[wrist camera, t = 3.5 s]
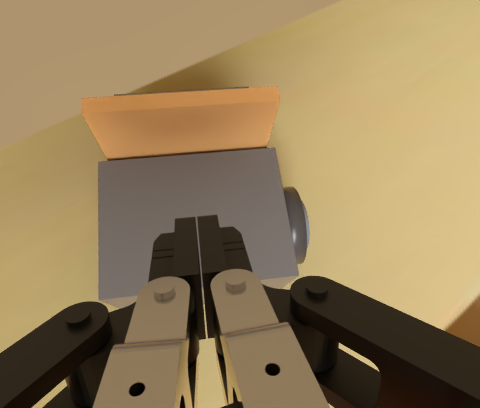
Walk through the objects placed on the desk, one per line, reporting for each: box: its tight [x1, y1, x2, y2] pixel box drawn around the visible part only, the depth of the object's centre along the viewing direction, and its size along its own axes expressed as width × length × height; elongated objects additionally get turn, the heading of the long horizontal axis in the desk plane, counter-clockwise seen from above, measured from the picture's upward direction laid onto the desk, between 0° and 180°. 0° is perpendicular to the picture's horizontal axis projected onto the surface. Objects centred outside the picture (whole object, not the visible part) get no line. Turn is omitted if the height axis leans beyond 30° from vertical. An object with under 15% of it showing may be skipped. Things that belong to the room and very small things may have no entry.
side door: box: [82, 86, 280, 161], centre depth 27 cm, size 11×2×15 cm, turn 97°
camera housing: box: [98, 148, 309, 308], centre depth 28 cm, size 14×9×10 cm, turn 98°
